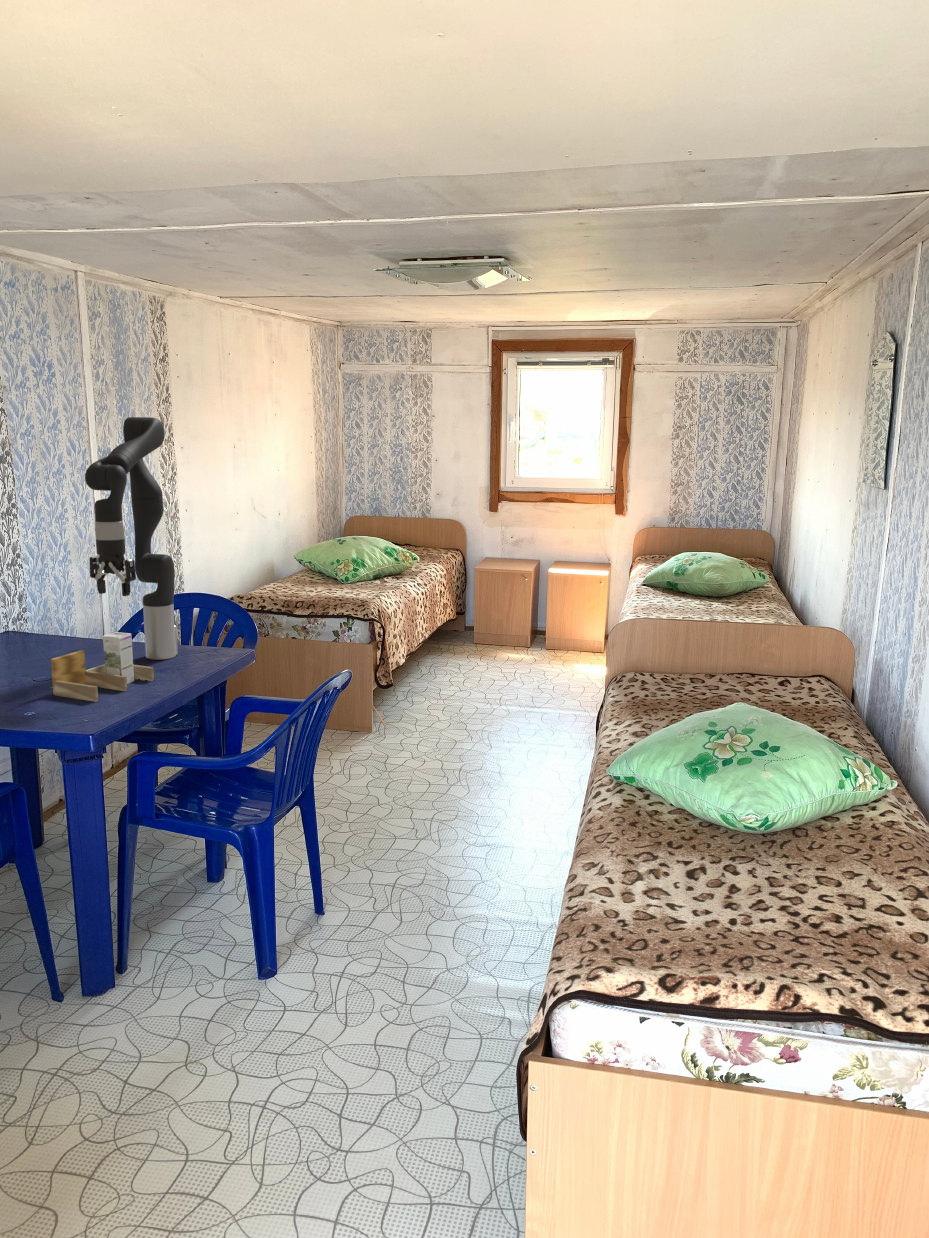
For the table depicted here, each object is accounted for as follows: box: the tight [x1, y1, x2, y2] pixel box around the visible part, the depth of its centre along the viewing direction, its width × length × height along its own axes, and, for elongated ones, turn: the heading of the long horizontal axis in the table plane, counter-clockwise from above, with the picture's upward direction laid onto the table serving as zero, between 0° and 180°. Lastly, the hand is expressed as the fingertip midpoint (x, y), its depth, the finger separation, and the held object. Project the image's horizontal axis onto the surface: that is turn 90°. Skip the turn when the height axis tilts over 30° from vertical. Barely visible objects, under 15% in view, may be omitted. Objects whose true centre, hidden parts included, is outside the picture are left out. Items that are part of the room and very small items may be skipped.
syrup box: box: [102, 631, 135, 685], centre depth 254 cm, size 6×6×14 cm
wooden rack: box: [50, 650, 155, 703], centre depth 249 cm, size 23×15×10 cm, turn 159°
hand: (114, 594), depth 250 cm, fingers open, 8 cm apart
